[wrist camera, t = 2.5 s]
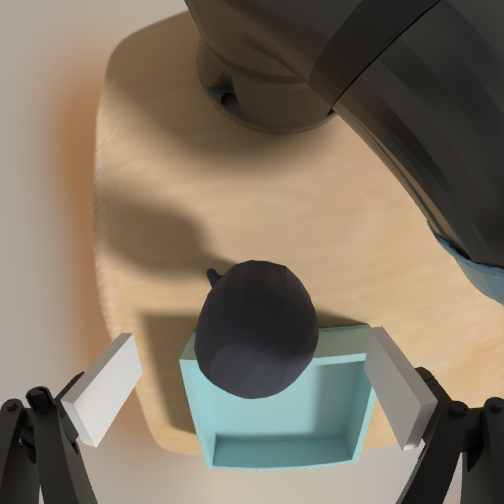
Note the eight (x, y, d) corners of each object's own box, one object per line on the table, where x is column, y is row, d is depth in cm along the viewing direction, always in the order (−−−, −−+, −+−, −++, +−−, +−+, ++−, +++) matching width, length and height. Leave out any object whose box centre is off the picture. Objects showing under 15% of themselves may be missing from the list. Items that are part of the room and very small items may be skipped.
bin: (192, 331, 29) (178, 359, 24) (368, 324, 28) (386, 350, 23) (213, 439, 33) (206, 468, 28) (349, 433, 32) (356, 462, 27)
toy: (200, 288, 28) (141, 378, 14) (237, 219, 27) (201, 256, 12) (279, 330, 29) (286, 443, 14) (321, 267, 27) (372, 348, 12)
